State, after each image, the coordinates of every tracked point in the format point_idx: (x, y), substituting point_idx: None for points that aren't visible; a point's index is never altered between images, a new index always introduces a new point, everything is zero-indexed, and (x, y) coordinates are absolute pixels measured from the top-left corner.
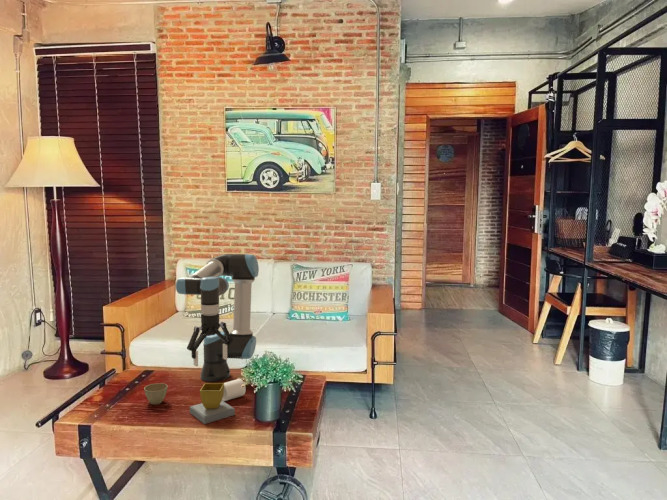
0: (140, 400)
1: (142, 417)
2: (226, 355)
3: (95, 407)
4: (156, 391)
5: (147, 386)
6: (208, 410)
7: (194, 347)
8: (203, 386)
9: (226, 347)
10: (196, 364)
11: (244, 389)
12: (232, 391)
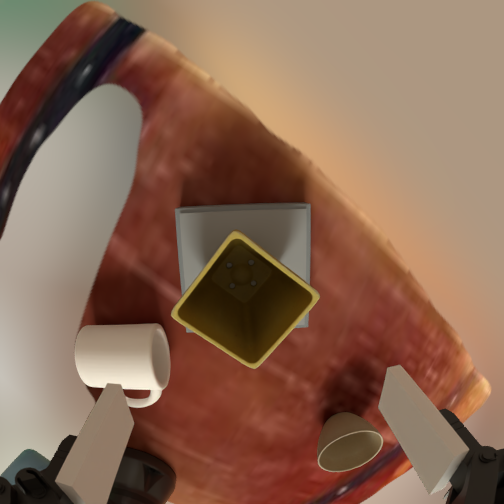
0: None
1: (410, 354)
2: (101, 407)
3: None
4: (367, 429)
5: (360, 463)
6: (271, 251)
7: (493, 478)
8: (277, 339)
9: (72, 464)
10: (407, 374)
11: (85, 329)
12: (129, 332)
